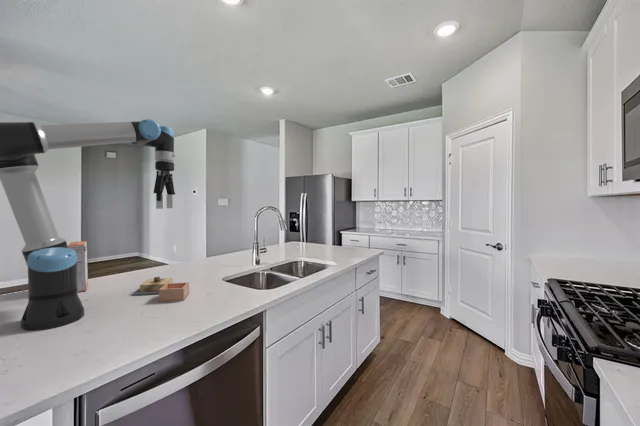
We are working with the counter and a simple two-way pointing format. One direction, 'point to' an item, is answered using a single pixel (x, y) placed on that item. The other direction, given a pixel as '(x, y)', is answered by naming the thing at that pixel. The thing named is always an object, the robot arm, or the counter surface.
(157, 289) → the lid
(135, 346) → the counter surface
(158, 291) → the plate
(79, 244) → the cracker box
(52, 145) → the robot arm
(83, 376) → the counter surface
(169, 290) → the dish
